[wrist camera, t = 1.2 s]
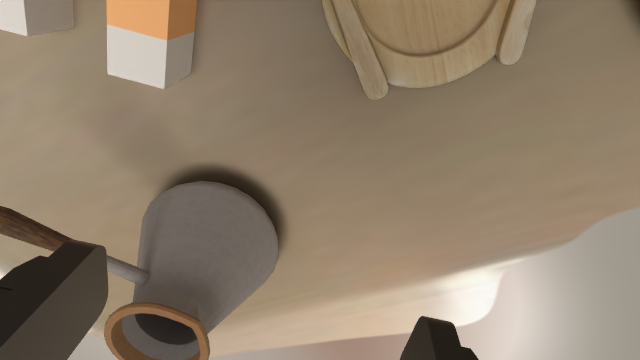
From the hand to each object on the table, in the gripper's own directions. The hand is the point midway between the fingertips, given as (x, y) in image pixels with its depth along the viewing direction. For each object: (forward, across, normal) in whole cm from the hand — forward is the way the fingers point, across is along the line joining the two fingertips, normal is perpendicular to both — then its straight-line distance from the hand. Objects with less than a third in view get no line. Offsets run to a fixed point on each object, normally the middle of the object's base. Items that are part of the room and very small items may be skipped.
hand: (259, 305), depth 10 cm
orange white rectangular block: (+21, +11, -4) cm, 24 cm away
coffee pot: (+21, +10, +10) cm, 25 cm away
